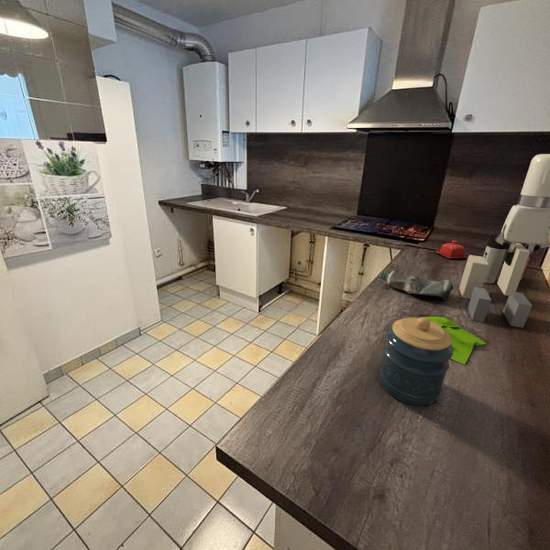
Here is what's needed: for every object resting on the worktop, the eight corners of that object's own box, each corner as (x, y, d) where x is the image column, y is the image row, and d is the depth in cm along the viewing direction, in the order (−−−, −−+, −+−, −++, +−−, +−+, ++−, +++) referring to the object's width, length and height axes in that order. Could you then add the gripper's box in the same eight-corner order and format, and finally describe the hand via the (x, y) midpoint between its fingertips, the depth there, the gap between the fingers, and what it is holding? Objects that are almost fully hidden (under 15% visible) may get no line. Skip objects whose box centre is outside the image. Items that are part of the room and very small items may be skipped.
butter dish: (433, 252, 156) (437, 237, 153) (453, 252, 158) (457, 237, 154) (447, 260, 146) (452, 244, 142) (468, 259, 147) (473, 243, 144)
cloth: (445, 315, 95) (447, 309, 95) (507, 358, 76) (510, 351, 75) (389, 321, 91) (391, 315, 90) (440, 368, 72) (442, 361, 71)
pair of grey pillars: (513, 316, 96) (522, 293, 93) (522, 330, 88) (532, 305, 85) (467, 307, 101) (474, 285, 98) (471, 320, 93) (479, 296, 90)
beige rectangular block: (473, 290, 114) (483, 256, 108) (477, 300, 106) (489, 264, 101) (459, 288, 115) (468, 254, 110) (462, 297, 108) (473, 262, 102)
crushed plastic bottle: (451, 293, 111) (384, 276, 123) (456, 276, 107) (387, 261, 120) (447, 309, 101) (375, 289, 114) (452, 292, 98) (378, 273, 110)
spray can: (483, 276, 127) (498, 232, 119) (498, 283, 121) (515, 236, 113) (472, 278, 125) (486, 233, 117) (487, 285, 119) (503, 237, 111)
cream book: (506, 284, 94) (520, 243, 88) (514, 296, 86) (530, 251, 81) (497, 283, 95) (510, 242, 89) (504, 295, 87) (519, 250, 82)
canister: (453, 400, 63) (477, 330, 56) (403, 413, 59) (421, 341, 52) (411, 361, 74) (426, 300, 67) (367, 370, 71) (378, 307, 64)
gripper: (567, 202, 80) (542, 264, 87) (497, 198, 86) (479, 257, 93) (580, 206, 74) (552, 273, 81) (503, 202, 80) (484, 264, 87)
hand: (514, 264), depth 87 cm, fingers closed on cream book, 2 cm apart
